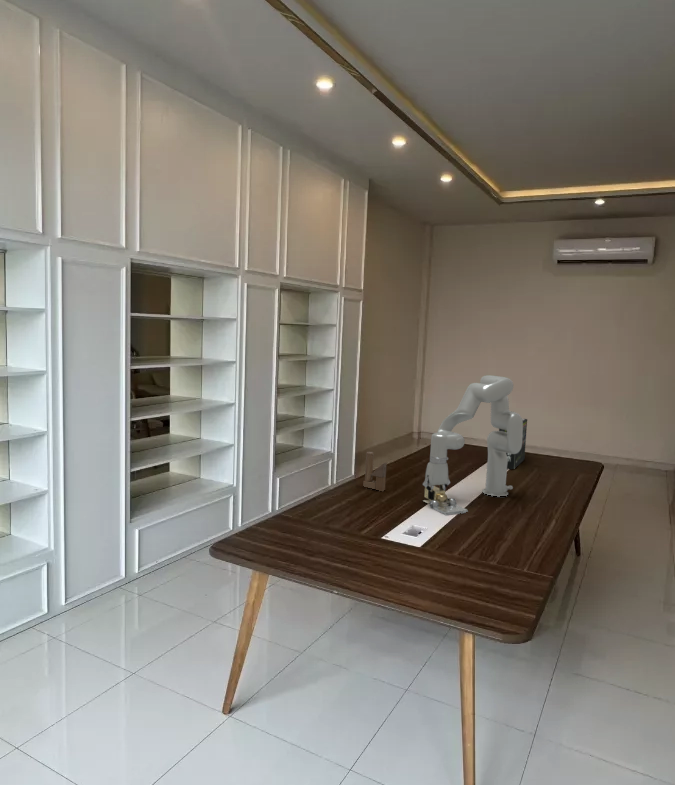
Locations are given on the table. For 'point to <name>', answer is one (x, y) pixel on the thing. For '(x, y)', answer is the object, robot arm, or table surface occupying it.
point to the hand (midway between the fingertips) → (435, 498)
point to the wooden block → (374, 474)
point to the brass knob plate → (437, 494)
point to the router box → (517, 458)
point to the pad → (439, 503)
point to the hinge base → (447, 507)
